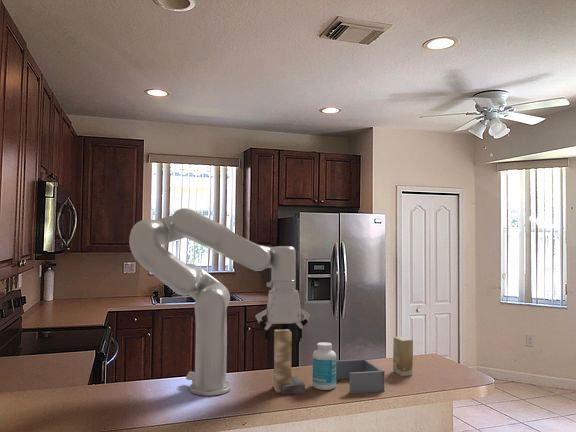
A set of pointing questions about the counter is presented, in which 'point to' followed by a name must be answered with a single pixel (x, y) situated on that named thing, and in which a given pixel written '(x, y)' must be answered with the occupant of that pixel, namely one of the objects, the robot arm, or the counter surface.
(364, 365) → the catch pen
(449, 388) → the counter surface
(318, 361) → the pill bottle
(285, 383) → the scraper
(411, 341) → the skincare box
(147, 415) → the counter surface
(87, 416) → the counter surface
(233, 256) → the robot arm
